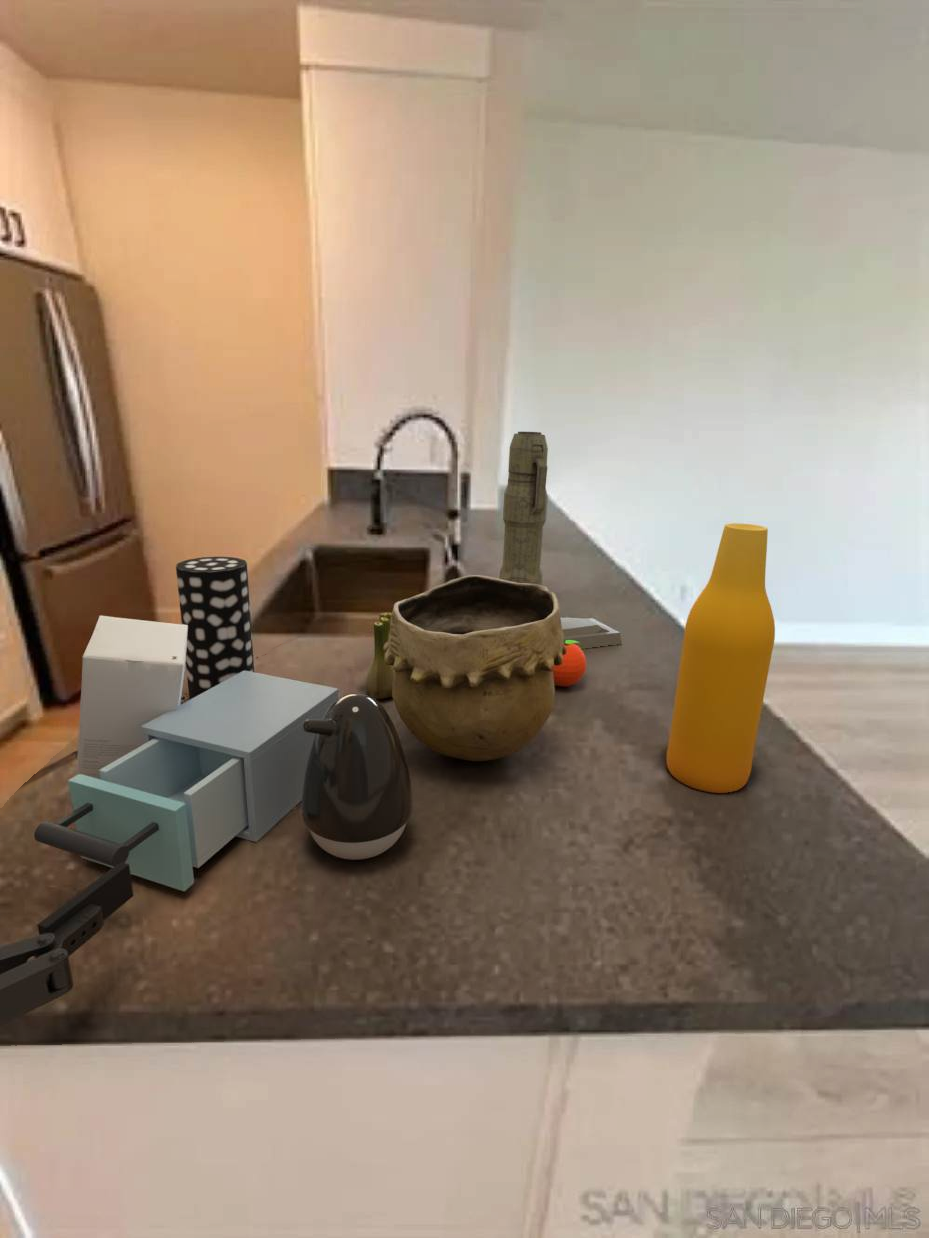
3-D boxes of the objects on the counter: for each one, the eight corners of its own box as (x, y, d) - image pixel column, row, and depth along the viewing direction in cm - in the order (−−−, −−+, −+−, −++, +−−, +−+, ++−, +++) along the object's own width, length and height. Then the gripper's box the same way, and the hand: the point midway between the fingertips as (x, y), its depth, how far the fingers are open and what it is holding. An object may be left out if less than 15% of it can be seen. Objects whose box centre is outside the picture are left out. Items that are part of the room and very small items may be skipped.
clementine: (568, 671, 107) (572, 629, 105) (598, 687, 102) (603, 642, 99) (528, 680, 103) (531, 637, 101) (558, 697, 97) (562, 651, 95)
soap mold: (622, 644, 120) (624, 625, 119) (522, 656, 113) (523, 636, 112) (590, 626, 129) (592, 609, 128) (496, 637, 122) (497, 618, 121)
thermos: (519, 613, 136) (531, 433, 125) (486, 598, 145) (494, 430, 135) (553, 607, 141) (566, 434, 130) (518, 593, 150) (528, 430, 139)
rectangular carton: (176, 734, 79) (191, 623, 74) (169, 785, 72) (186, 664, 66) (89, 729, 76) (98, 612, 70) (72, 781, 68) (81, 655, 63)
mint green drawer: (139, 932, 51) (127, 845, 49) (30, 892, 55) (13, 810, 53) (286, 800, 69) (282, 732, 66) (196, 777, 72) (189, 711, 70)
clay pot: (477, 823, 68) (485, 636, 61) (348, 747, 81) (344, 588, 75) (592, 753, 82) (609, 596, 76) (466, 699, 96) (472, 562, 90)
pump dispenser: (281, 839, 64) (272, 693, 59) (369, 798, 71) (367, 665, 66) (343, 895, 57) (338, 734, 53) (433, 843, 64) (437, 698, 60)
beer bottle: (746, 762, 81) (790, 523, 72) (750, 802, 73) (799, 538, 64) (667, 747, 84) (700, 516, 75) (662, 784, 76) (698, 529, 67)
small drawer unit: (256, 842, 64) (249, 752, 61) (151, 812, 68) (140, 726, 65) (340, 764, 78) (338, 688, 75) (249, 743, 82) (244, 670, 79)
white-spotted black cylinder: (239, 727, 85) (227, 574, 79) (178, 720, 87) (161, 569, 80) (267, 700, 93) (258, 559, 87) (211, 694, 94) (198, 554, 88)
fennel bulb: (381, 706, 93) (380, 623, 89) (355, 696, 95) (354, 616, 92) (409, 693, 97) (409, 614, 93) (384, 684, 100) (384, 607, 96)
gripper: (-456, 1090, 36) (-51, 856, 55) (-156, 1302, 28) (196, 943, 47) (-514, 981, 34) (-70, 776, 53) (-205, 1178, 26) (186, 854, 45)
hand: (56, 854), depth 50 cm, fingers open, 13 cm apart
